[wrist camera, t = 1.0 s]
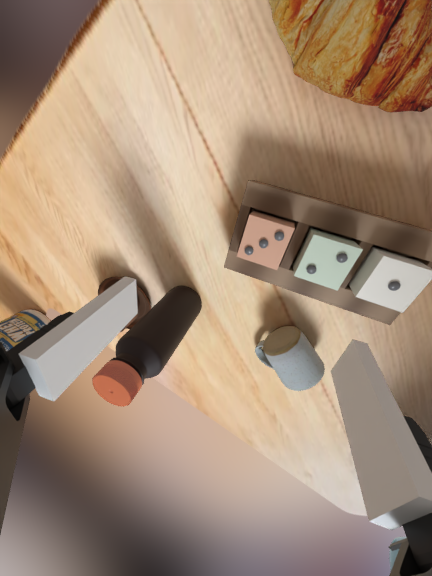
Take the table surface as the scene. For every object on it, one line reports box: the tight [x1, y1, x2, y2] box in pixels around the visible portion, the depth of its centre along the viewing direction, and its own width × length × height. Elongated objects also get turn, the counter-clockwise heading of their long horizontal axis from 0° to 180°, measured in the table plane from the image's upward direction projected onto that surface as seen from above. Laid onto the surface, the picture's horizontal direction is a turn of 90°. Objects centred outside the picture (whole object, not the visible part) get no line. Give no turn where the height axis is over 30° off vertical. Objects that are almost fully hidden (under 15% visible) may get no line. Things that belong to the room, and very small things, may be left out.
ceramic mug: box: [255, 326, 325, 391], centre depth 35 cm, size 10×8×7 cm
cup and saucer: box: [98, 277, 151, 332], centre depth 42 cm, size 12×12×6 cm
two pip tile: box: [293, 228, 363, 291], centre depth 24 cm, size 5×5×4 cm
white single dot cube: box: [348, 247, 432, 313], centre depth 24 cm, size 5×5×4 cm
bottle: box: [93, 286, 202, 406], centre depth 32 cm, size 7×7×20 cm
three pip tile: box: [237, 211, 295, 270], centre depth 25 cm, size 5×5×4 cm
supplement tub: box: [0, 309, 51, 351], centre depth 51 cm, size 12×12×17 cm
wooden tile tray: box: [224, 180, 432, 325], centre depth 27 cm, size 22×11×5 cm, turn 76°
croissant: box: [269, 0, 432, 112], centre depth 18 cm, size 21×10×8 cm, turn 53°
